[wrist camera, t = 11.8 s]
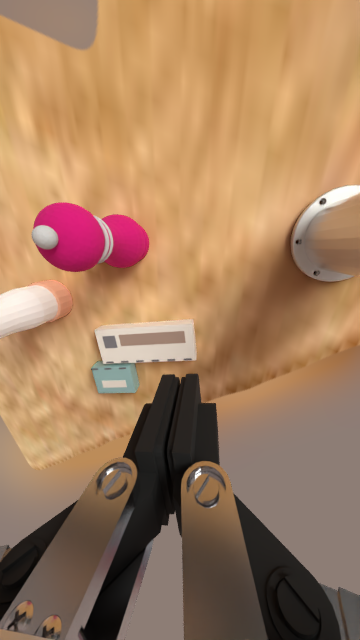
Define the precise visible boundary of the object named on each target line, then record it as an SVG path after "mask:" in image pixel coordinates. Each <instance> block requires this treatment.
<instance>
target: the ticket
mask: <svg viewBox="0 0 360 640" xmlns="http://www.w3.org/2000/svg"><path fill="white" fill-rule="evenodd" d="M94 331H95V335H96V338H97V342H98V346H99V350H100V353H101V357H102V361H103V364H112V363H138V362H165V361H192V360H196V357H197V350H196V340H195V330H194V321H193V319H185V320H171V321H157V322H143V323H129V324H114V325H101V326H100V327H98V328H97V329H95V330H94Z"/></svg>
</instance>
